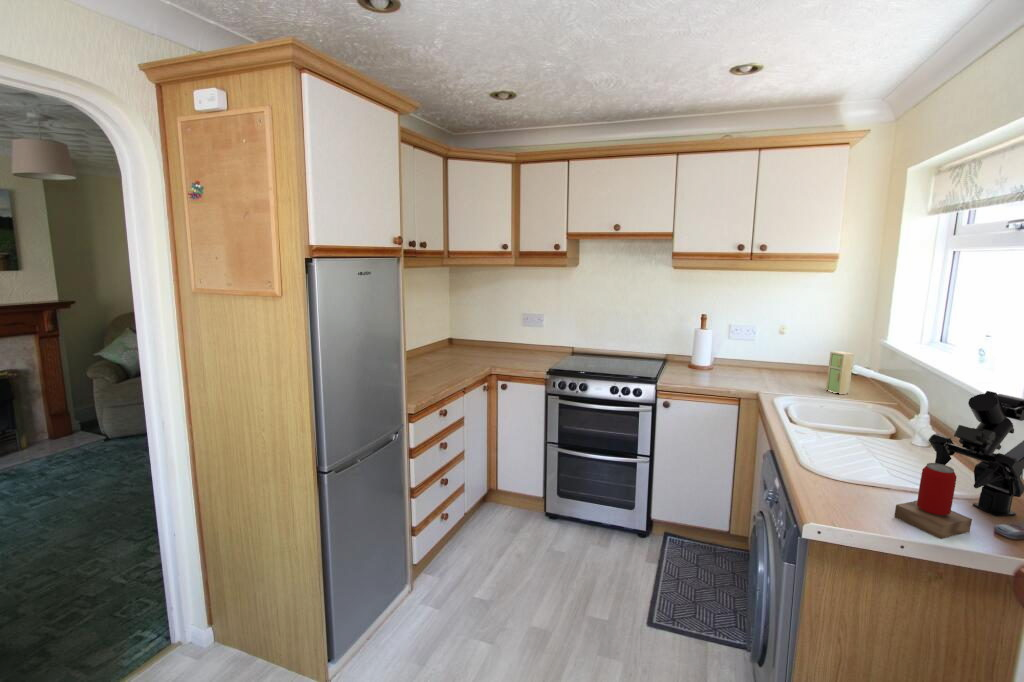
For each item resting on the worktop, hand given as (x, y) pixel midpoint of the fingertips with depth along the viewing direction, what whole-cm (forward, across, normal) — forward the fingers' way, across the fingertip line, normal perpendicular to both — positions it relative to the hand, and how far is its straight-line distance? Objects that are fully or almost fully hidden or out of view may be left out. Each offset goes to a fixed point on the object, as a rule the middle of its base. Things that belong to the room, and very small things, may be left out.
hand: (954, 479), depth 133 cm
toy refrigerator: (-56, -106, +74) cm, 141 cm away
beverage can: (+10, 0, +1) cm, 10 cm away
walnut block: (+12, 0, +4) cm, 13 cm away
